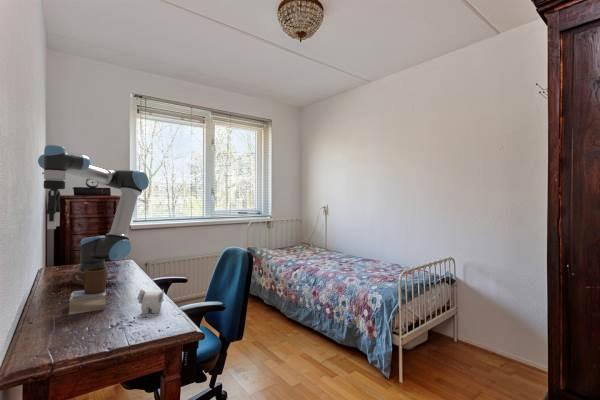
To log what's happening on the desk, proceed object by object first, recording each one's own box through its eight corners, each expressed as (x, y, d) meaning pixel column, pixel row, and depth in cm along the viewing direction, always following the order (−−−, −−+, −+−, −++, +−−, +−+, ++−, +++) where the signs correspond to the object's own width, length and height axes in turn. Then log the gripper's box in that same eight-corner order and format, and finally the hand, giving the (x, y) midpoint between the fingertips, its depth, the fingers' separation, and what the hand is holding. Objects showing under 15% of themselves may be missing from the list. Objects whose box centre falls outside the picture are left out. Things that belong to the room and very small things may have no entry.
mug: (69, 297, 120) (69, 273, 120) (72, 291, 127) (73, 269, 127) (105, 293, 126) (105, 270, 126) (106, 288, 133) (106, 266, 133)
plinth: (71, 305, 128) (72, 291, 128) (105, 300, 135) (105, 287, 135) (69, 314, 118) (69, 299, 118) (105, 309, 124) (105, 294, 124)
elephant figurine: (168, 305, 131) (168, 284, 131) (160, 315, 119) (160, 292, 119) (144, 305, 129) (145, 285, 129) (134, 316, 117) (134, 293, 117)
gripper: (48, 181, 145) (47, 225, 145) (38, 178, 124) (37, 230, 124) (67, 181, 149) (67, 225, 149) (62, 179, 128) (61, 229, 128)
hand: (53, 227), depth 136 cm, fingers open, 13 cm apart
